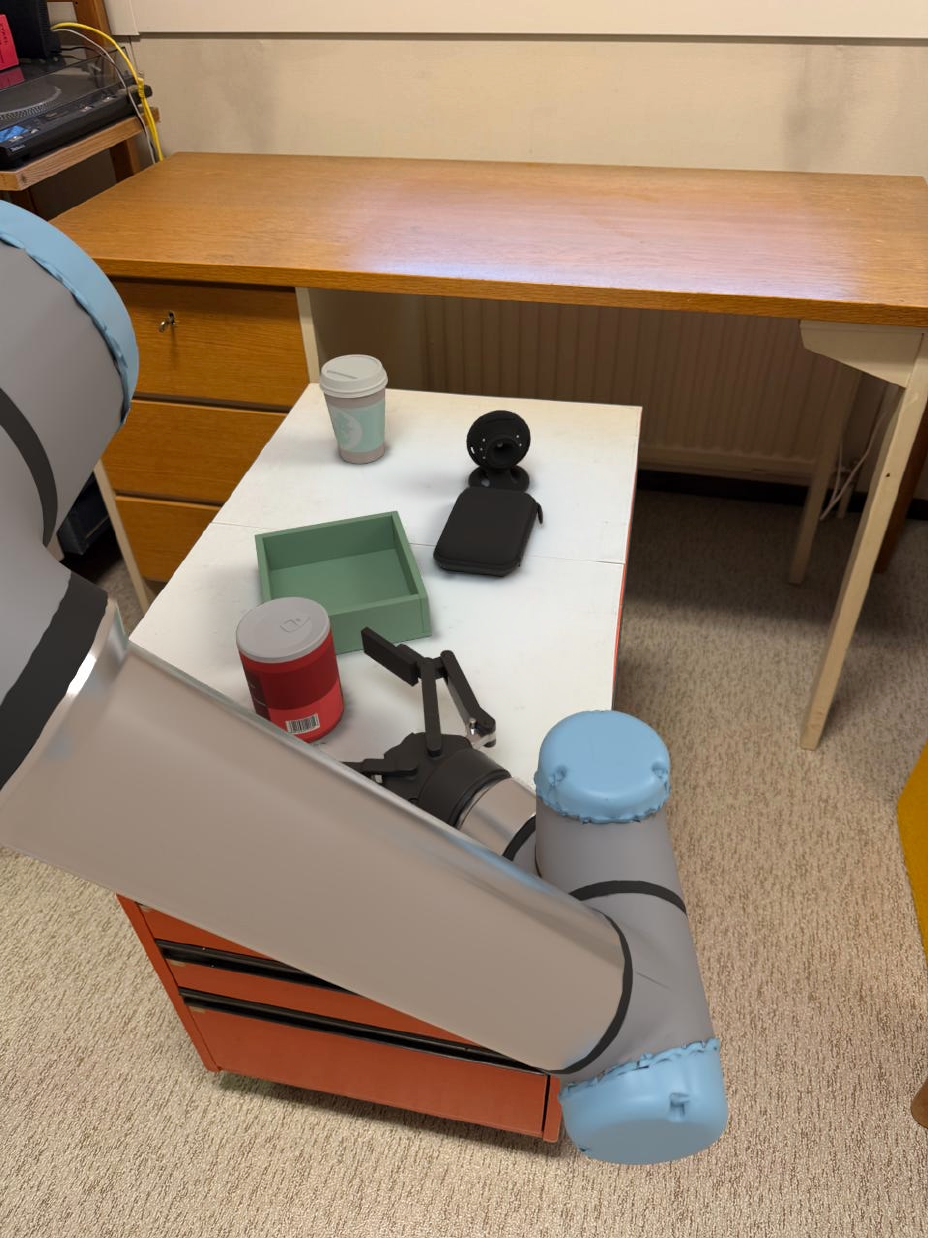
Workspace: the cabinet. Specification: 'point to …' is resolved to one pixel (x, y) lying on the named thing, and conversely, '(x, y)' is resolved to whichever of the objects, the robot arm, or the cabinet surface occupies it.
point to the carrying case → (487, 531)
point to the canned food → (292, 666)
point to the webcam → (499, 450)
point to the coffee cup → (356, 405)
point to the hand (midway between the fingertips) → (305, 678)
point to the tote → (349, 576)
